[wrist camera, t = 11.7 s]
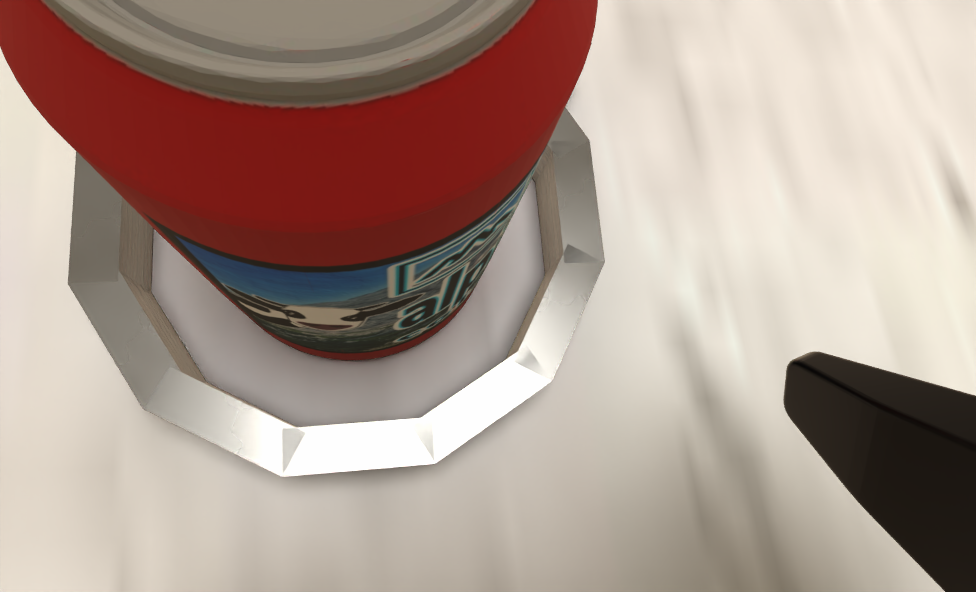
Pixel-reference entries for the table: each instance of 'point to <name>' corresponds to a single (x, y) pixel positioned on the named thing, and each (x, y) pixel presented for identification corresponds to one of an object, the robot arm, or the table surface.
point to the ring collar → (341, 447)
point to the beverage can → (312, 141)
